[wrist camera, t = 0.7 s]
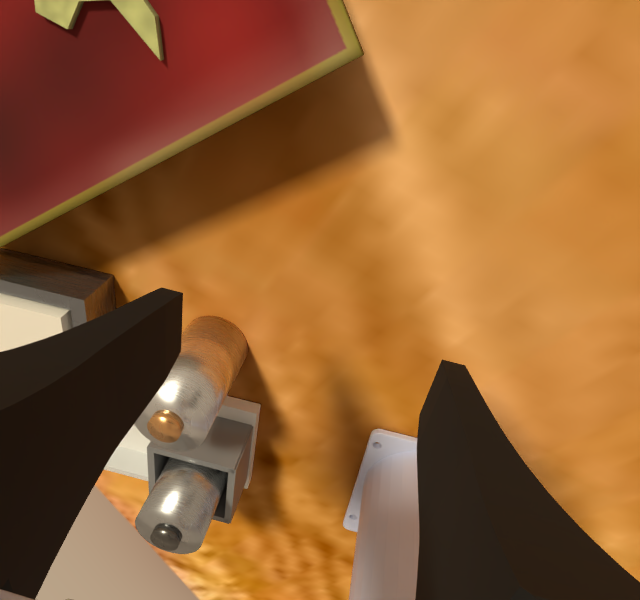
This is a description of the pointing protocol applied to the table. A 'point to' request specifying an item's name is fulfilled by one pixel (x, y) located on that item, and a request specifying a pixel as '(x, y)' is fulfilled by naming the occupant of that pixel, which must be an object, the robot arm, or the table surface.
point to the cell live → (195, 385)
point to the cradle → (57, 285)
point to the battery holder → (200, 453)
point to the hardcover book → (141, 86)
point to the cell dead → (181, 506)
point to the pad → (29, 321)
